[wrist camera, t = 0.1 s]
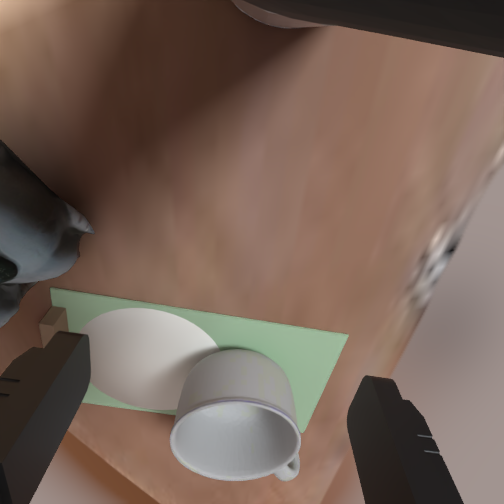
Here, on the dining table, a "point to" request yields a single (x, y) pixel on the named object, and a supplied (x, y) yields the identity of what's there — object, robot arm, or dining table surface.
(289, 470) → the teacup
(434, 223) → the dining table surface
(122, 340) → the putting green
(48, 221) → the lucky cat figurine
